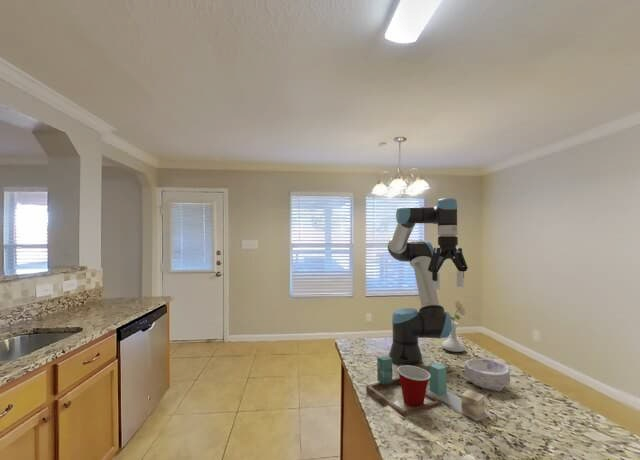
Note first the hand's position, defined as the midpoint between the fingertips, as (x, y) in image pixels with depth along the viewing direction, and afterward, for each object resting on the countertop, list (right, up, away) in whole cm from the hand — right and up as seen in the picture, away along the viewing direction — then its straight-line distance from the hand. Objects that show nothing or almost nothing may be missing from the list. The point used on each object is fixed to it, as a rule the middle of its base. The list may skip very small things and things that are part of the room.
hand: (448, 288), depth 122 cm
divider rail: (-10, -36, -23) cm, 44 cm away
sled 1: (-24, -36, -16) cm, 46 cm away
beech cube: (-4, -34, -27) cm, 43 cm away
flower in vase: (+17, -38, +32) cm, 53 cm away
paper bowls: (+12, -37, -7) cm, 39 cm away
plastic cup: (-21, -36, -22) cm, 47 cm away
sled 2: (-6, -36, -21) cm, 42 cm away
